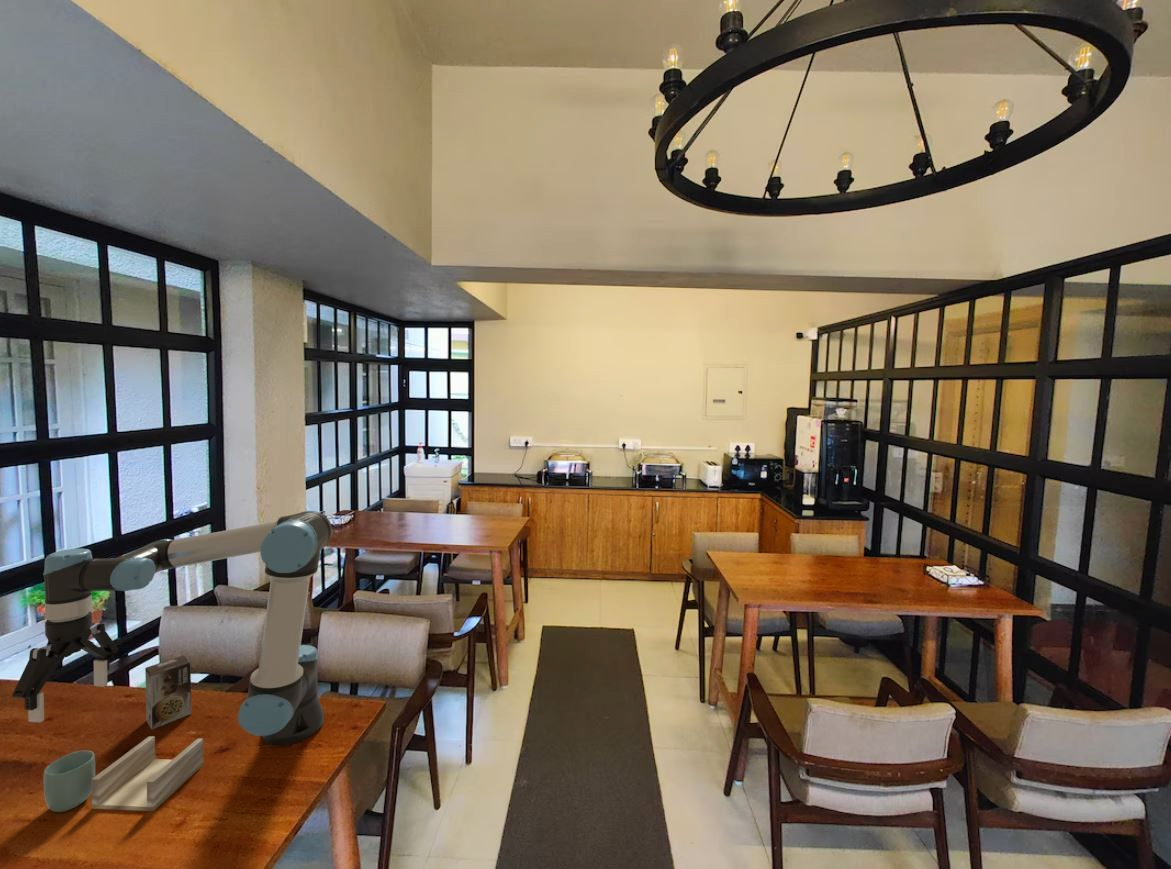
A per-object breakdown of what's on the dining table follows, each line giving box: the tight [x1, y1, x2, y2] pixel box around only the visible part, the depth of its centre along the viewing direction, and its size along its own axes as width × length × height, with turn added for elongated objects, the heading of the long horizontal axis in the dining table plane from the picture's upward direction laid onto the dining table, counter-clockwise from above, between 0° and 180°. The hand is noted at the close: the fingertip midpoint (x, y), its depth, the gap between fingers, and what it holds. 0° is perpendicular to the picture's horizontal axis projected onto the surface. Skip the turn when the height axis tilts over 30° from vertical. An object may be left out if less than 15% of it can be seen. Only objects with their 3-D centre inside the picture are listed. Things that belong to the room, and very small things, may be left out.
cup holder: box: [91, 736, 204, 812], centre depth 114 cm, size 14×14×7 cm
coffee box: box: [144, 655, 193, 730], centre depth 138 cm, size 9×6×16 cm
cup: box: [43, 749, 96, 813], centre depth 108 cm, size 8×8×10 cm
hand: (70, 702), depth 113 cm, fingers open, 13 cm apart
